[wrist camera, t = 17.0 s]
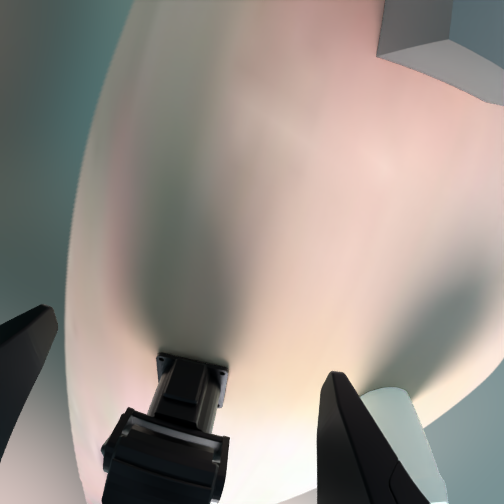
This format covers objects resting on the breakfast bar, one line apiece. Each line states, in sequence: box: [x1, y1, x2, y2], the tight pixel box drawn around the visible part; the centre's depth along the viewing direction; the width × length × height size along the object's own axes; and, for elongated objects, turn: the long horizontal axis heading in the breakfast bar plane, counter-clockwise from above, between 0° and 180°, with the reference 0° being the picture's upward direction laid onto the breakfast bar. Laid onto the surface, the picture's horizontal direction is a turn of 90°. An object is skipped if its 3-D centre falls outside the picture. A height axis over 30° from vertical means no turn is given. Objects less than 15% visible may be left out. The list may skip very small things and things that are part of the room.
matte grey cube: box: [376, 0, 504, 106], centre depth 8 cm, size 8×8×9 cm
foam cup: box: [360, 387, 449, 504], centre depth 23 cm, size 10×9×13 cm
